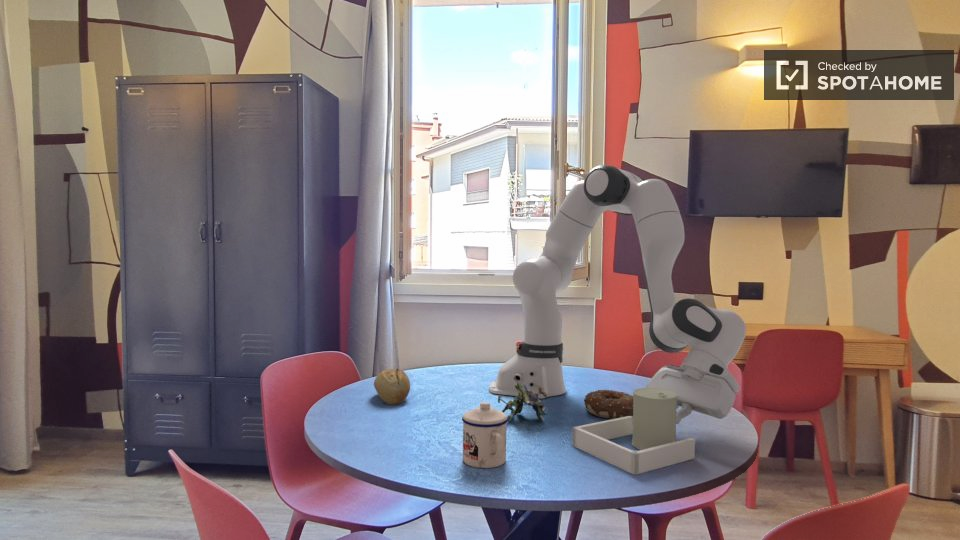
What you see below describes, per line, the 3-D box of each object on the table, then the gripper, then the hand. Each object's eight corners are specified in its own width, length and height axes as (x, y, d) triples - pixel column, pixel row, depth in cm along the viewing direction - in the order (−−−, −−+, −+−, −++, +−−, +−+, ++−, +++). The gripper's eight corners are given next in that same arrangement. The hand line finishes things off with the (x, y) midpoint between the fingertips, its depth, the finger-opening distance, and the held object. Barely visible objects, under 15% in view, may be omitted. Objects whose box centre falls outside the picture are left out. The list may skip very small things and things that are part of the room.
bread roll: (402, 390, 169) (402, 363, 169) (415, 404, 155) (416, 374, 155) (369, 393, 166) (369, 365, 165) (379, 407, 152) (380, 377, 151)
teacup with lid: (454, 455, 119) (455, 399, 118) (495, 449, 123) (495, 395, 122) (478, 478, 108) (479, 416, 107) (522, 470, 112) (523, 410, 111)
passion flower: (538, 442, 143) (559, 411, 136) (498, 438, 139) (517, 406, 133) (528, 406, 152) (547, 375, 145) (490, 402, 148) (507, 369, 142)
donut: (573, 408, 154) (574, 389, 154) (617, 403, 159) (618, 385, 159) (604, 425, 141) (604, 404, 140) (651, 419, 146) (651, 399, 145)
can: (650, 456, 120) (651, 398, 120) (623, 441, 129) (624, 387, 128) (685, 450, 124) (687, 394, 123) (657, 436, 132) (658, 383, 132)
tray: (629, 432, 134) (629, 415, 134) (694, 458, 119) (694, 439, 119) (572, 445, 126) (572, 427, 125) (634, 475, 110) (635, 454, 110)
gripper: (658, 355, 140) (628, 400, 136) (735, 372, 123) (703, 425, 118) (670, 371, 143) (641, 416, 138) (747, 390, 126) (716, 442, 121)
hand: (670, 420), depth 128 cm, fingers closed, pressing on can
